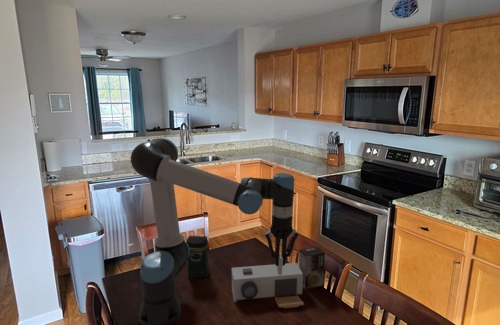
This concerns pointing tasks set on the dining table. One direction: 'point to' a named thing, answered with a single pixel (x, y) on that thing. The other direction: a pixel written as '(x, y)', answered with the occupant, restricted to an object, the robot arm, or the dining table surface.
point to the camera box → (266, 281)
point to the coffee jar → (198, 257)
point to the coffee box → (312, 266)
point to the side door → (289, 301)
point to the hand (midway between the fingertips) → (279, 272)
